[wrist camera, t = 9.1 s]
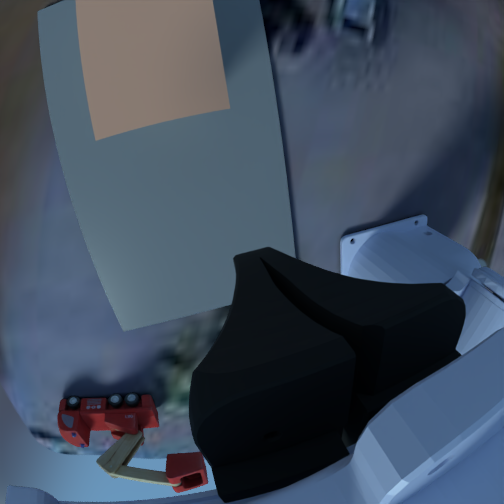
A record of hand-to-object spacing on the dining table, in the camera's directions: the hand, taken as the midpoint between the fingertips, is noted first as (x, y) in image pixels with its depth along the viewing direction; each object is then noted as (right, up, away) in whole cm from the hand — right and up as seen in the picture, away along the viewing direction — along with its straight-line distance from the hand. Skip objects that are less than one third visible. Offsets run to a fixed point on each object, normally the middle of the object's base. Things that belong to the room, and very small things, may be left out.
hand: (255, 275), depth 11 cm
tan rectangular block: (-5, +10, 0) cm, 11 cm away
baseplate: (-5, +7, +7) cm, 11 cm away
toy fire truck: (-13, -14, +15) cm, 24 cm away
